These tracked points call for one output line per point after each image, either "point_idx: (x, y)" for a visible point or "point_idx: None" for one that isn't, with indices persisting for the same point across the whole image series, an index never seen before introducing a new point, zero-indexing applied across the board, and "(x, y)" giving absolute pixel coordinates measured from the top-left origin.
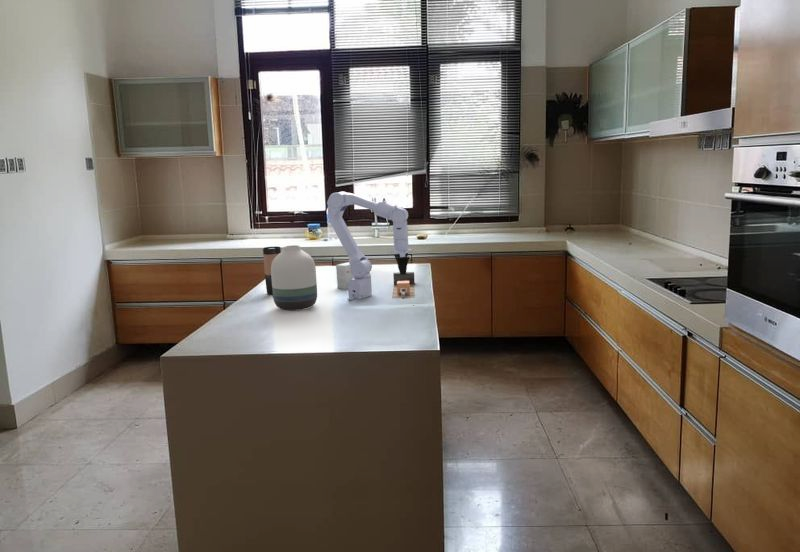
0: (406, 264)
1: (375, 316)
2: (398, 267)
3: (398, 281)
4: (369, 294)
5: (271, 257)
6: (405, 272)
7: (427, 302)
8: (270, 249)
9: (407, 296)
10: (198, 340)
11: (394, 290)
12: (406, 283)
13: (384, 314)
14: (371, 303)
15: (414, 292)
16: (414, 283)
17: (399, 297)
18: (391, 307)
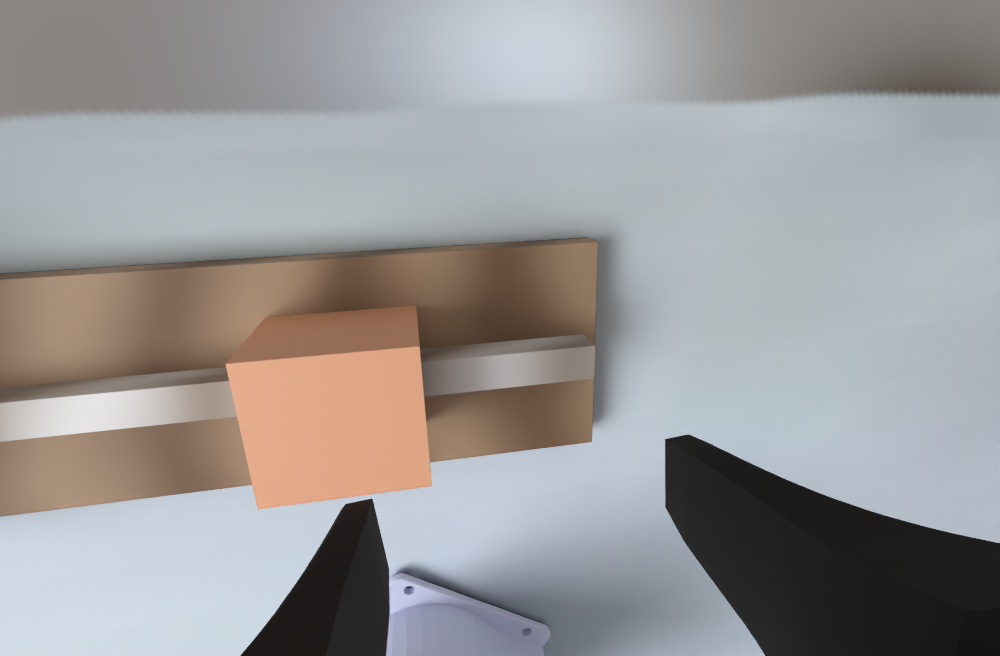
0: (860, 522)
1: (975, 457)
2: (385, 637)
3: (289, 489)
4: (469, 632)
5: None
6: (710, 451)
7: (689, 107)
8: None
9: (534, 316)
10: None
11: (215, 476)
12: (420, 377)
13: (952, 414)
14: (614, 555)
15: (336, 260)
16: None
17: (563, 384)
18: (779, 400)
